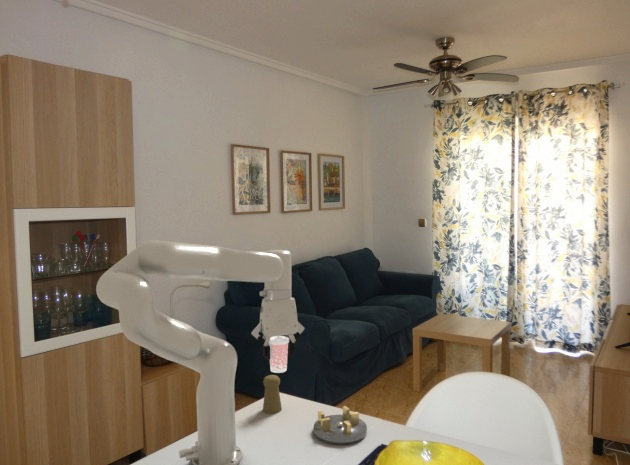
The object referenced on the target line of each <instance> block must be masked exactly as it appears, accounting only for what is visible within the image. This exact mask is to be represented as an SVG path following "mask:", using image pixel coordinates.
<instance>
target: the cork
mask: <svg viewBox="0 0 630 465" xmlns="http://www.w3.org/2000/svg"><path fill="white" fill-rule="evenodd" d="M262 383H263V387H264V397H263V404H262V411H263V413H265V414H268V415H270V414H271V415H273V414H278V413H280V412H281V411H282V410H283V409H282V401H281V396H280V389H279V386H280V384H281V378H280V377H279V375H275V374H269V375H266V376H265V377H264V378H263V382H262Z"/></svg>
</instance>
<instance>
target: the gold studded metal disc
mask: <svg viewBox="0 0 630 465" xmlns="http://www.w3.org/2000/svg"><path fill="white" fill-rule="evenodd" d="M367 428H368V427H367V423H366V422H365V421H364V420H362V419H361V418H360V412H358V411H354V412H350V408H349V407H347V406H346V405H343V406H342V414H331V415H325V412H323V411H322V410H318V411H317V420H316V421H315V422H314V424H313V435H314V437H315V438H316V439H317V440H319V441H320V442H322V443H325V444H328V445H334V446H347V445H354V444H357V443H359V442H361V441H362V440H364V439H365V438H366V437H367V433H368V431H367V430H368V429H367Z"/></svg>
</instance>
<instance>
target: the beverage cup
mask: <svg viewBox="0 0 630 465" xmlns="http://www.w3.org/2000/svg"><path fill="white" fill-rule="evenodd" d="M288 343H289V338H288V337H287V336H286V335H283V336H274V337H271V338H270V341H269V346H270V360H269V366H270V367H269V368H270V372H271V373H275V374H280V373H281V374H283V373H285V372H286V371H287V369H288Z"/></svg>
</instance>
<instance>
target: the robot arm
mask: <svg viewBox="0 0 630 465" xmlns="http://www.w3.org/2000/svg"><path fill="white" fill-rule="evenodd" d="M154 276H155V277H159V278H164V279H179V280H181V279H182V280H206V281H208V280H210V281H218V282H219V281H221V282H227V281H228V282H230V281H231V282H245V283H246V282H247V283H250V282H251V283H264V288H263V290H261V291H259V296H260V297H264V298H262V301H261V307H260V313H259V323H258V324H257V326H256V327H255V328H253V330H252V331H251V335H252V336H253V337H254V338H255V339H256V340H258V341H259V342H260V343H261V344H262V356H263V358H265V359H266V361H270V346H269V341H270V338H271V337H274V336H286V337H288V338H289V343H288V355H287V357H288V356H289V357H290V358H293V355H294V353H295V342H296V341H297V339H298V338H299V337H300V336H301V334H302V333H303V332H304V330H305V329H306V328H305V327H304V326H303V325H302V324H301V323H300V322H299V321H298V312H297V305H296V299H295V297H292V294H293V293H292V286H293V285H292V283H293V282H292V281H293V280H292V253H291V252H290V251H289V250H287V249H269V250H267V251H258V250H257V251H256V250H255V251H254V250H249V251H246V250H238V249H233V248H228V247H223V246H218V245H217V246H216V245H212V244H211V245H208V244H197V243H187V242H178V241H167V240H165V241H164V240H157V239H150V240H147V241H146V242H143V243H141V244H140V245H138V246H137V247H136V248H134V249H133V250H132V251H131V252H129V253H128V254H127V255H125V256H124V257H123V258H121V259H120V260H118V261H117V262H116V263H115V264H113V265H112V266H111V267H110V268H108V270H106V271H105V272H104V273H103V274H101V276H100V277H99V279H98V280H97V282H96V288H95V291H96V295H97V298H98V299H99V300H100V302H101V303H103V304H104V305H106V307H107V306H108V307H110V308H113V309H115V310H118V316H119V317H118V318H119V324H120V327H121V330H122V333H123V334H124V336H125V337H126V339H127V340H129V341H130V342H132V343H134V344H136V345H137V346H140V347H142V348H144V349H147V350H148V351H149V352H151V353H153V354H154V355H156V356H158V357H160V358H163V359H165V360H168V361H170V362H174V363H177V364H179V365H181V366H184V367H186V368H188V369H190V370H193V371H195V372H197V373H199V375H200V378H199V382H198V384H197V386H196V393H195V396H196V397H195V398H196V421H197V422H196V424H197V426H196V427H197V429H196V430H197V441H195V442H194V444H195V445H193V446H191V447H190V448H183V449H179V450H178V454H179V455H178V457H179V459H182V458H183V459H184V458H185V461H186V462H188V461H191V462H192V465H239V464H240V462H242V459H243V452H242V449H241V448H240V447H239V446H238V445H237V442H236V440H237V438H236V437H237V436H236V435H237V434H236V399H235V398H236V397H235V380H236V374H237V373H236V372H237V367H238V353H237V351H236V349H235V347H234V346H233V344H231V343H229V342H228V341H226V340H224V339H221V338H219V337H217V336H213V335H210V334H207V333H204V332H201V331H199V330H197V329H195V328H194V327H193V326H191V325H190V324H188V323H186V322H183V321H181V320H178V319H176V318H172V317H169V316H168V315H166V314H165V313H163V312H161V311H159V310H158V309H157V306H156V302H155V292H154V289H153V286H152V284H151V282H150V279H151V278H152V277H154ZM259 333H262V335H263V336H261V335H260V334H259Z"/></svg>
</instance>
